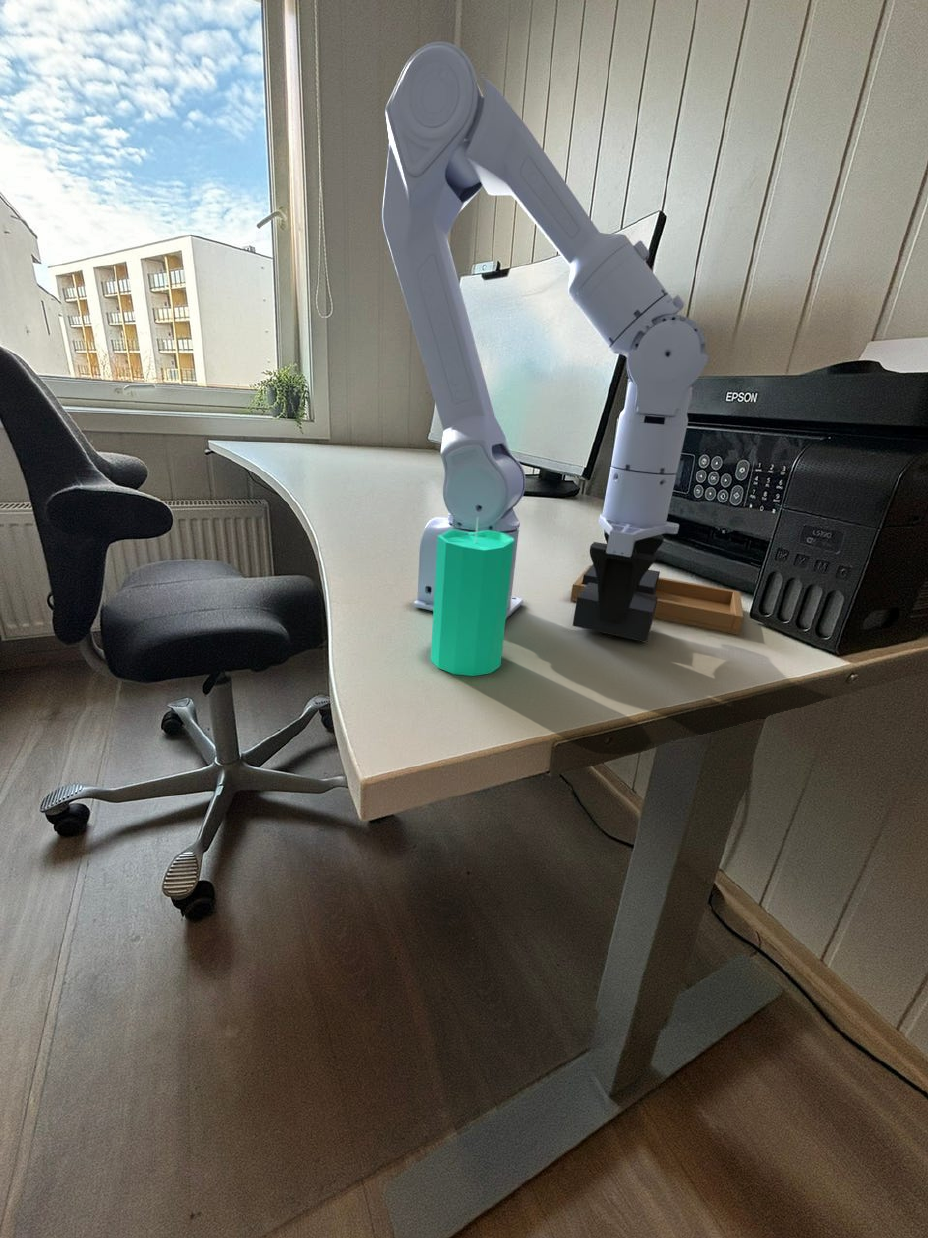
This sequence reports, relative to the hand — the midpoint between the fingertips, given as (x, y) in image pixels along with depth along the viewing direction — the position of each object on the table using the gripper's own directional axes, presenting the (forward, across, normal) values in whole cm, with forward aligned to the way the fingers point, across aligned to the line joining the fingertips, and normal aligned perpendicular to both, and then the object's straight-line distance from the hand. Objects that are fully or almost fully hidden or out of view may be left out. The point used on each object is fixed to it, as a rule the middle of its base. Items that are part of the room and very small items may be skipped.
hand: (615, 611), depth 54 cm
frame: (+2, +11, -3) cm, 12 cm away
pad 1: (+2, +11, +1) cm, 11 cm away
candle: (+2, -14, +10) cm, 17 cm away
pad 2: (+1, 0, 0) cm, 1 cm away
